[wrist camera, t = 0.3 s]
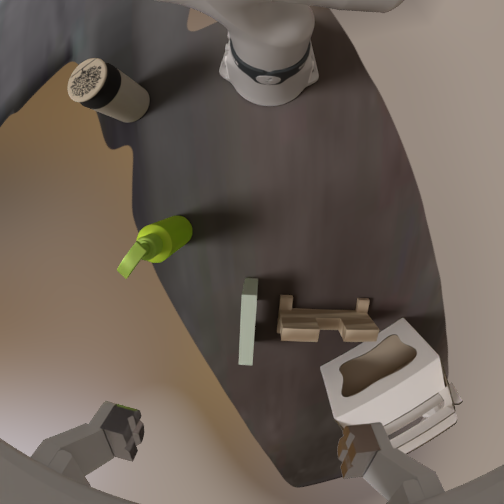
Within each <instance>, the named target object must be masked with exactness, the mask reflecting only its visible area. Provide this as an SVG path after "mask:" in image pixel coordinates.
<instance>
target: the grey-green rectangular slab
mask: <svg viewBox="0 0 504 504" xmlns="http://www.w3.org/2000/svg"><path fill="white" fill-rule="evenodd" d="M257 290H258V279H256V278H245V282H244V286H243V291H242V302H241V323H240V345H239V364H240V365H252V362H253V348H254V334H255V319H256V305H257Z"/></svg>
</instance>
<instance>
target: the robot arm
mask: <svg viewBox="0 0 504 504" xmlns="http://www.w3.org/2000/svg"><path fill="white" fill-rule="evenodd" d="M156 1H160V2H168V3H174V4H179V5H183V6H187V7H190V8H193V9H196V10H198V11H200V12H202V13H205V14H206V15H208V16H210V17H212V18H213V19H215V20H217V21H218V22H220V23H221V24H222V25H224V26H225V27H226V28H227V30H228V38H229V39H230V40H229V42H228V44H226V47H225V50H226V51H225V54H224V57H223V60H222V63H221V66H220V69H219V74H220V75H221V76H222V77H223V78H224V79H226V80H228V81H229V82H231V83H232V85H233V86H234V87H235V89H236V90H237V92H238V93H239V94H240V95H241V96H242V97H244V98H245V99H246V100H248V101H250V102H252V103H255V104H258V105H263V106H277V105H282V104H285V103H287V102H290V101H291V100H293V99H294V98H296V97H297V96H298V95H299V94H300V93H301V92H302V90H303V89H304V88H305V87H307V86H309V85H311V84H313V83H315V82H316V81H317V80H318V78H319V74H318V69H317V65H316V61H315V56H314V52H313V48H312V44H311V40H310V39H311V36H312V33H313V29H314V26H315V19H314V14H313V11H312V9H311V8H310V6H309V5H312V6H319V7H326V8H332V9H337V10H352V11H366V12H381V13H385V12H389V11H391V10H392V9H394V8H396V7H397V6H399V5H400V4H401V3H402V2H403V1H404V0H156ZM225 66H226V67H225ZM312 71H313V72H312ZM140 418H141V413H140V411H139V410H137V409H133V408H130V407H126V406H122V405H119V404H115V403H112V402H108V401H105V402H104V403H103V404H102V405H101V407H100V408H99V410H98V411H97V413H96V414H95V415H94V417H93V418H92V420H91V421H90V423H89V424H86V423H85V424H83V425H81V426H78V427H76V428H73V429H71V430H68V431H66V432H63V433H60V434H58V435H55V436H53V437H50V438H47V439H45V440H43V442H42V443H41V444H40V445H39V447H38V448H37V449H36V451H35V452H34V454H33V455H32V456H31V457H29V456H27V455H25V454H24V453H22V452H21V451H19V450H17V449H16V448H14V447H13V446H11V445H10V444H8V443H6V442H5V441H4V440H2V439H1V438H0V504H139V503H135V502H132V501H129V500H125V499H122V498H119V497H116V496H113V495H110V494H108V493H105V492H102V491H100V490H97V489H95V488H92V487H91V486H90V484H89V482H88V481H87V479H86V478H85V476H86V475H87V474H89V473H90V472H92V471H94V470H95V469H97V468H99V467H100V466H102V465H103V464H105V463H106V462H108V461H110V460H111V459H113V458H114V457H118V458H121V459H125V460H129V461H133V460H134V458H135V455H136V453H137V451H138V450H137V447H136V446H137V445H139V444H140V443H141V442H142V440H143V436H144V425H143V423H142V422H141V421H140ZM337 452H338V458H339V460H341V461H342V465H341V471H342V475H343V478H344V479H345V478H354V477H363V478H364V479H365V480H366V481H367V482H368V483H369V484H370V485H371V486H372V487H373V488H375V489H376V490H377V491H378V492H379V493H380V494H381V495H382V496H383V497H385V498H386V499H387V500H388V502H387V503H386V504H504V465H502V466H500V467H498V468H496V469H494V470H492V471H490V472H489V473H487V474H485V475H482V476H480V477H478V478H476V479H474V480H472V481H470V482H468V483H465V484H463V485H461V486H458V487H456V488H453V489H451V490H448V491H446V492H445V491H444V489H443V487H442V485H441V483H440V481H439V479H438V477H437V475H436V472H434V471H433V470H431V469H430V468H428V467H426V466H424V465H423V464H421V463H420V462H418V461H416V460H415V459H413V458H411V457H409V456H408V455H407V454H405V453H403V452H402V451H400V450H399V449H397V448H393V447H392V445H391V442H390V440H389V438H388V436H387V433H386V431H385V429H384V427H383V424H382V423H381V422H376V423H369V424H368V423H367V424H358V425H347V426H345V427H344V429H343V437H341V438H340V440H339V442H338V448H337Z"/></svg>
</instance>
